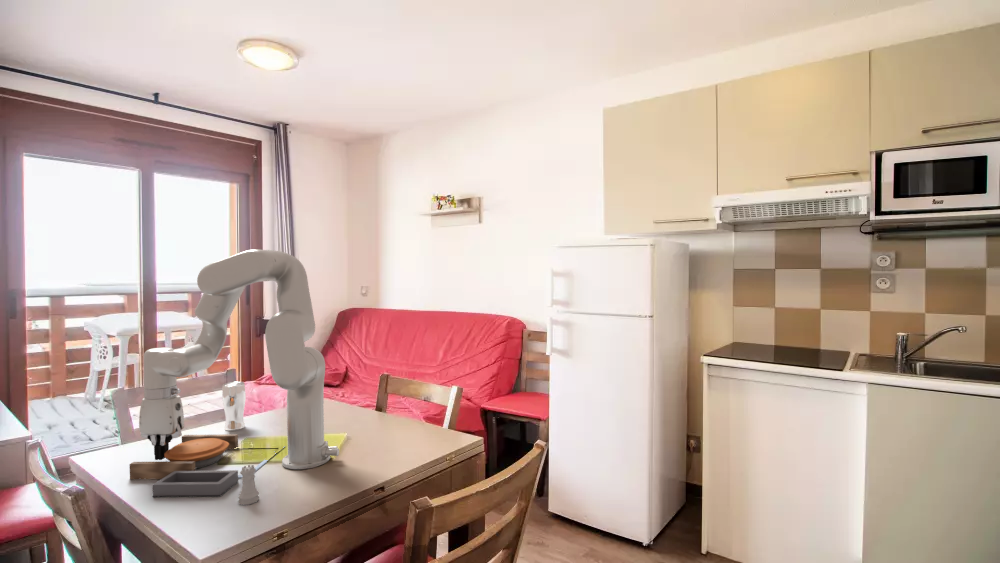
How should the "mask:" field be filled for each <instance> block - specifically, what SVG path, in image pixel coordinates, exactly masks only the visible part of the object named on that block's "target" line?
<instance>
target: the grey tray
mask: <svg viewBox="0 0 1000 563" xmlns="http://www.w3.org/2000/svg"><path fill="white" fill-rule="evenodd" d="M238 475H239V470H236V469H235V470H230V469H229V470H196V471H174V472H172V473H170V474H169V475H167V476H166V477H164V478H162V479H158V481H156V482H154V483H153V484H152V485H151V486H152V487H151V488H152V489H151V490H152V498H193V497H194V498H207V497H208V498H209V497H212V498H215V497H217V498H218V497H222V496H223V495H224V494H226V493H227V492H228V491H229V490H231V489H232V488H233V487H234V486H235V485H237V484H238V483H239V478H238Z"/></svg>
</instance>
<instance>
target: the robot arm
mask: <svg viewBox="0 0 1000 563" xmlns="http://www.w3.org/2000/svg"><path fill="white" fill-rule="evenodd" d="M196 281H197V286H198V289H199V290H200V291H201V293H203V294H202V295H201V297H200V300H199V302H198V304H197V305H196V307H195V308H194V314H195V316H196V318H198V319H199V320H201V321H202V328H201V331H200V334H199V336H198V338H197V340H196V341H195V343H194V345H191V346H187V347H184V348H183V347H182V348H180V349H174V348H173V347H166V346H165V347H153V348H150V349H149V348H148V349H147V350H146V351H145V352H144V353H143V393H144V394H143V398H142V399H141V403H140V408H139V418H138V419H139V420H138V428H139V429H138V430H139V432H140V437H141V438H144V439H148V441H149V442H150V443H151V446H153V451H154V452H153V454H154V461H162V460H164V459H166V458H165V457H164V454H165V453H166V451H168V450H169V448H170V446H169V443H171V442H172V441H173V440H174V439H178V438H181V437H182V436H183V435H182V430H183V429H184V428H185V414H184V407H183V402H182V399H181V396H180V395H179V394H180V393H181V392H182V390H181V388H178V385H177V382H178V381H177V380H178V378H185V377H188V376H190V375H193V374H197V373H198V372H202V371H204V370H208V369H209V368H210V367H212V365H213V364H214V363H215V361H216V360H217V359H218V357H219V355H220V353H221V351H222V349H223V347H224V346H225V343H226V340H227V334H228V332H227V331H228V325H227V324H228V320H230V317H231V315H232V313H233V311H234V309H235V307H236V306H237V303H238V302H239V300H240V299H241V296H242V293H243V292H244V291H245V289H246V287H247V286H249V285H252V284H255V283H260V282H276V283H277V284H276V286H277V287H276V289H277V290H276V301H277V304H278V306H277V307H278V312H277V313H275V314H274V315H273V316H272V317H270V319H269V320H268V321H267V323H266V326H265V327H266V328H265V330H264V331H265V333H264V334H265V345H266V351H267V357H268V363H269V369H270V373H271V377H272V379H273V381H274V382H275V384H276V385H277V386H278V387H280V388H281V389H283V390H287V391H286V424H287V426H286V429H287V430H286V431H287V432H286V433H287V454H286V455H284V457H283V458H282V460H281V465H282V467H284V468H285V469H289V470H307V469H312V468H316V467H319V466H322V465H324V464H326V463H328V462H329V461H330V459H331V457H336V456H337V457H338V456H339V454H340V448H338V446H337V445H336V446H330V445H329V442H328V441H327V440H326V441H325V419H324V418H325V417H324V415H325V413H324V409H325V408H324V404H325V401H324V400H325V398H324V392H325V391H324V388H325V386H324V385H325V377H326V376H325V374H326V361H325V360H326V359H325V357H324V355H323V353H321V352H320V350H318V349H316V348H315V347H312V346H305V342H308V341H309V340H311V338H312V337H313V336H314V334H315V332H316V322H315V321H316V320H315V317H314V316H315V315H314V311H313V304H312V303H313V302H312V297H311V293H310V289H309V279H308V275H307V271H306V268H305V267H304V265H303V263H302V262H301V261H300V260H299V259H298V258H297V257H295V256H294V255H292V254H291V253H287V252H284V251H281V250H275V249H274V250H273V249H257V248H256V249H248V250H245V251H241V252H239V253H236V254H233V255H231V256H228V257H225V258H222V259H219V260H216V261H214V262H211V263H208V264H207V265H205V266H204V267H203V268H201V270H200V271H199V272H198V276H197V279H196ZM330 456H331V457H330Z"/></svg>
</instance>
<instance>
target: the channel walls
mask: <svg viewBox="0 0 1000 563" xmlns="http://www.w3.org/2000/svg"><path fill="white" fill-rule="evenodd" d="M203 438H217V439H221V440H224V441H227V442H228V443H229V446H228V447H227V449H226V450H235V449H234V448H236V447H239V434H237V433H236V434H235V433H234V434H232V433H231V434H228V433H227V434H184V435H181V443H183V442H187V441H191V440H196V439H203ZM196 469H197V468H196V467H195V461H169V460H168V461H133V462H131V463H129V480H130V479H131V480H161V479H162V478H164V477H166V476H167V475H169V474H170V473H172V472H174V471H197V470H196Z"/></svg>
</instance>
